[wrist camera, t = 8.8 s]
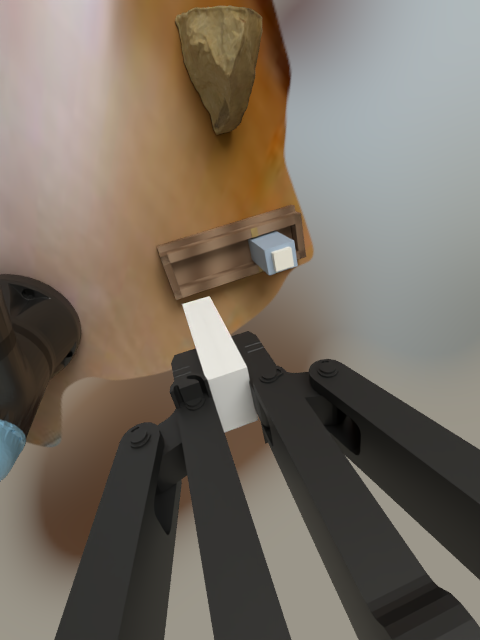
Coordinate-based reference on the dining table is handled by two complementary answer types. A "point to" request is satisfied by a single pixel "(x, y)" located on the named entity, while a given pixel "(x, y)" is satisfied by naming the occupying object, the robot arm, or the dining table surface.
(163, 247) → the wooden tray
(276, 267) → the rider
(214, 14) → the rock
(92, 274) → the dining table surface
